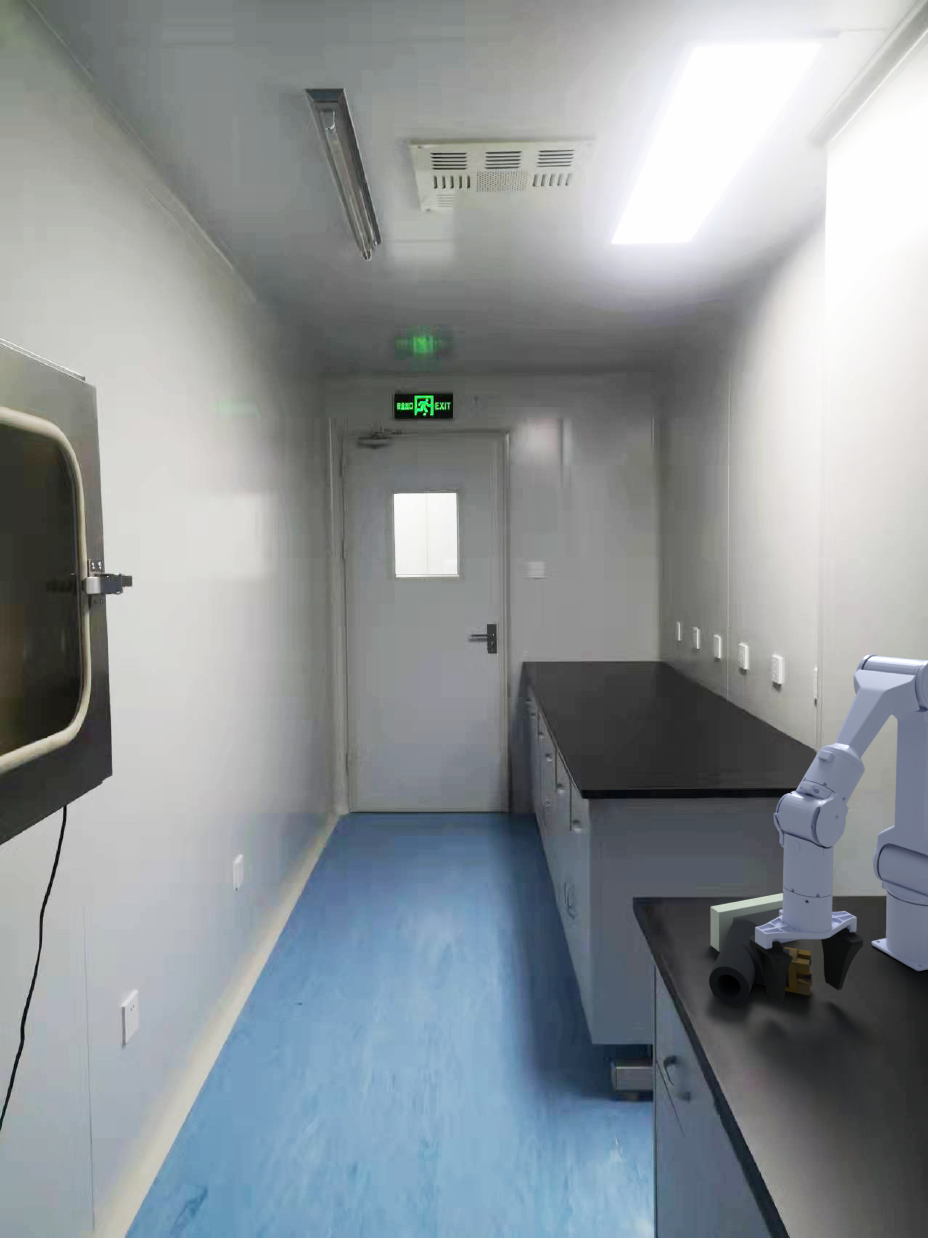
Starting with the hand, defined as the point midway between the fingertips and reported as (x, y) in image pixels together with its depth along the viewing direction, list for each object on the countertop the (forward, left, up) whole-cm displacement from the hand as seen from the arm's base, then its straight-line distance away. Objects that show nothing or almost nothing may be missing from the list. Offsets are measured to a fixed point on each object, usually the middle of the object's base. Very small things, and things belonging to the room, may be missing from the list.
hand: (805, 992), depth 93 cm
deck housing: (-5, -16, -2) cm, 17 cm away
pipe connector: (+1, -6, -2) cm, 6 cm away
